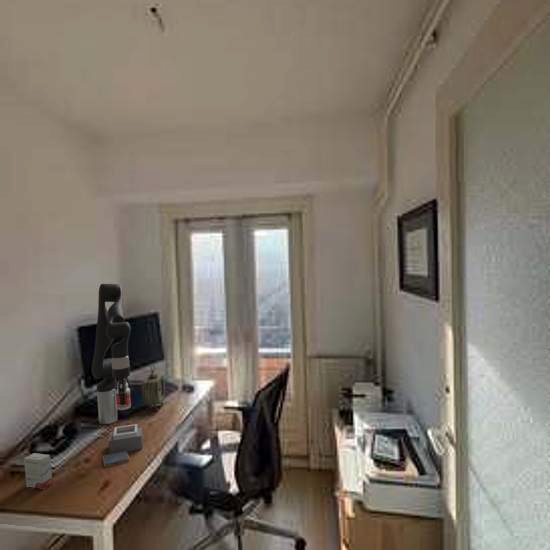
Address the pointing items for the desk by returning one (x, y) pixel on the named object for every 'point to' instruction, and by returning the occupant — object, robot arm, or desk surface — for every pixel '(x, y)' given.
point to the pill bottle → (127, 399)
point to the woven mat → (115, 458)
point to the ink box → (38, 470)
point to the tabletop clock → (153, 389)
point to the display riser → (125, 439)
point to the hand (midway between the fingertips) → (123, 402)
